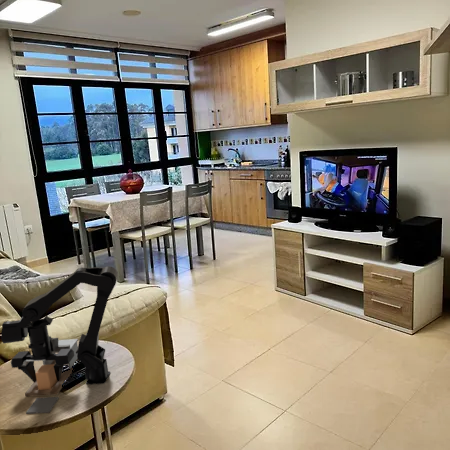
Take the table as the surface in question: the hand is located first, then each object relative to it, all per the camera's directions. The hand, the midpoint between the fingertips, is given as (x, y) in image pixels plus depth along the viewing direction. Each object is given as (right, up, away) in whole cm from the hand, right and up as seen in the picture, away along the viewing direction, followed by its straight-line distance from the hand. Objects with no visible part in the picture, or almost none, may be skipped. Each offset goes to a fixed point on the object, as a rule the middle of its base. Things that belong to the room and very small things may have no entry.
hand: (47, 381), depth 140 cm
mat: (+3, -4, -10) cm, 11 cm away
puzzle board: (0, -1, +6) cm, 6 cm away
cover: (0, +2, +12) cm, 12 cm away
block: (0, -2, 0) cm, 2 cm away
